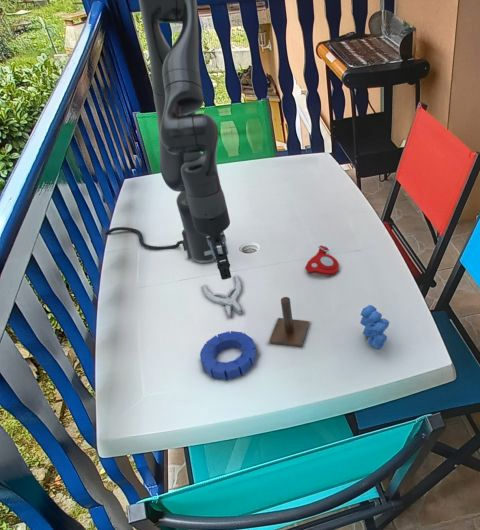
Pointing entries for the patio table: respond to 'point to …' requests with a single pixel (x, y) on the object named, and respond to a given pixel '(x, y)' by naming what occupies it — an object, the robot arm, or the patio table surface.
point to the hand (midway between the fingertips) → (223, 267)
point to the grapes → (374, 326)
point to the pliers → (229, 302)
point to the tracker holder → (322, 263)
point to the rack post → (288, 327)
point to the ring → (233, 367)
